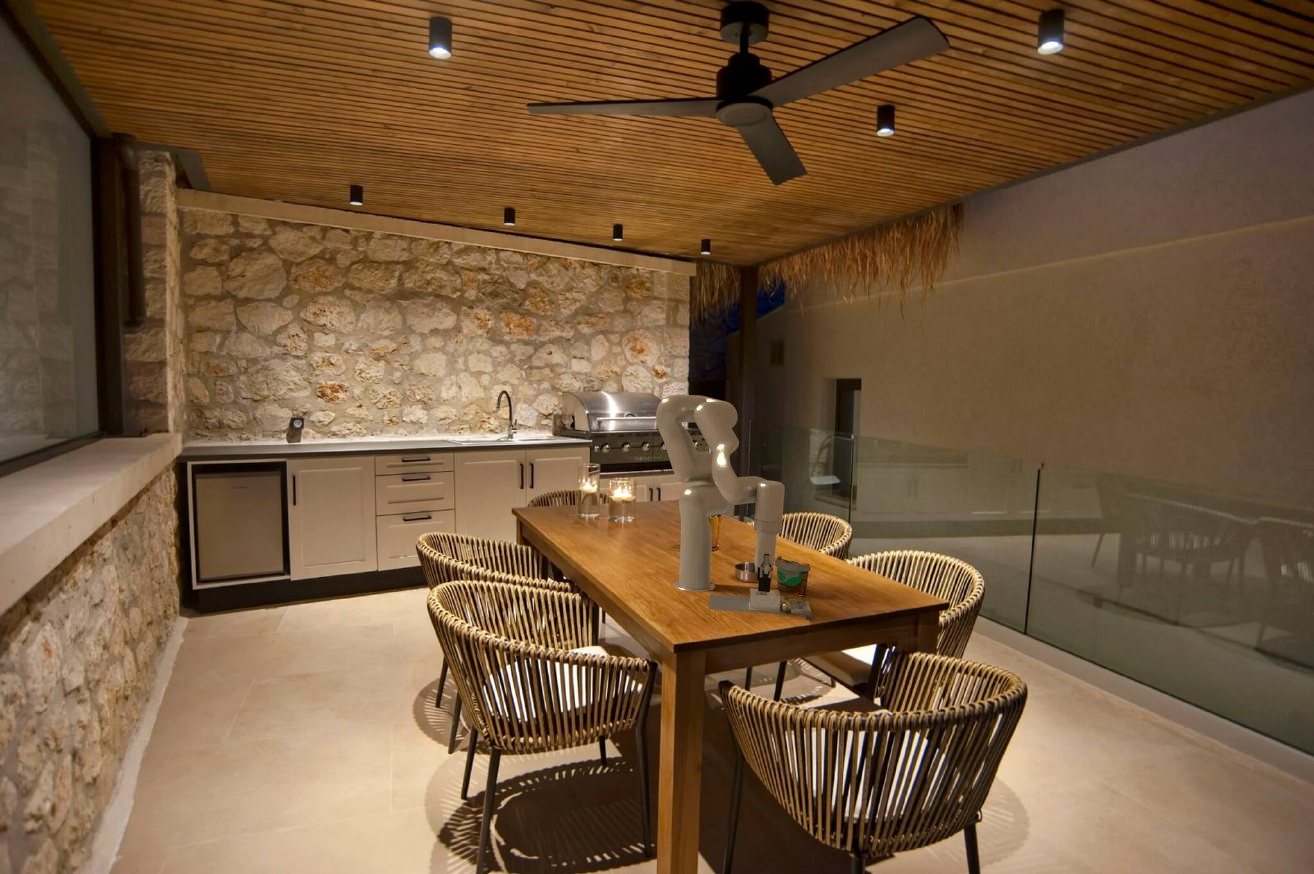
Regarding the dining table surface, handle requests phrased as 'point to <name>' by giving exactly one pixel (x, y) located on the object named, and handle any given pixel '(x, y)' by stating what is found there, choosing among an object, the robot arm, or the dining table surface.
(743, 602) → the board
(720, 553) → the dining table surface
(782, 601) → the fixed leaf
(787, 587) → the food container
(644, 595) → the dining table surface
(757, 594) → the tan studded block
